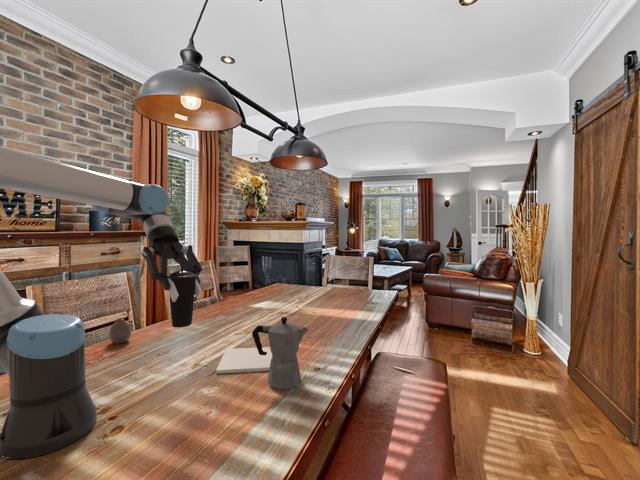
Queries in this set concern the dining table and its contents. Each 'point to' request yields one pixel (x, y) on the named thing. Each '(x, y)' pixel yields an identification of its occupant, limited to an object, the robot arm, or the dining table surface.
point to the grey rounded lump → (120, 331)
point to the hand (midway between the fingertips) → (187, 296)
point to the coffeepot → (282, 352)
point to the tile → (244, 360)
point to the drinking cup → (183, 296)
